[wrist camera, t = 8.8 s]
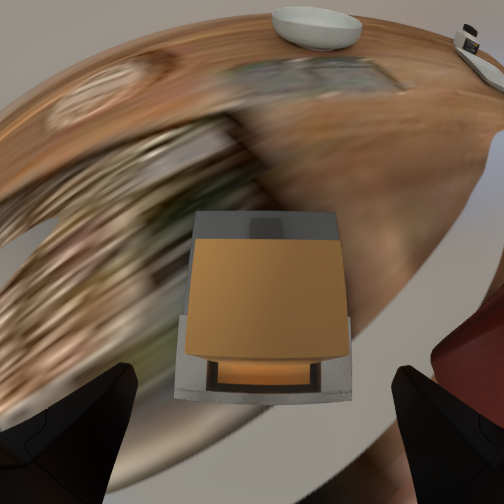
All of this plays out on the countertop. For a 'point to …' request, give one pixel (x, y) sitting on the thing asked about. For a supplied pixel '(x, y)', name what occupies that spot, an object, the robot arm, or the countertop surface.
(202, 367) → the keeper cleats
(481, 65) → the salad plate
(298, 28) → the cereal bowl
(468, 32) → the medicine bottle
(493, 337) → the plant pot
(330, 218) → the board
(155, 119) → the countertop surface
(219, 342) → the brown boxy piece
